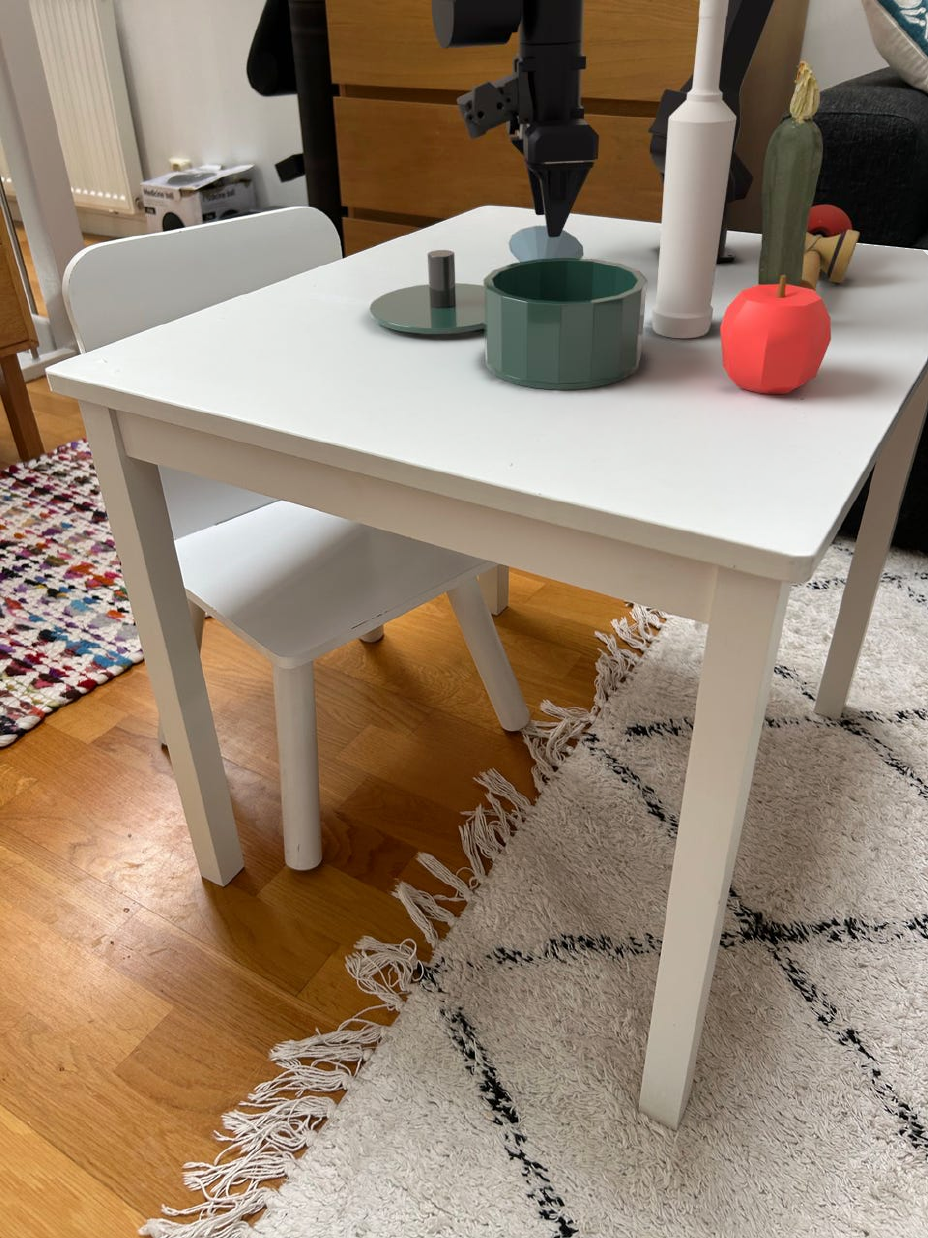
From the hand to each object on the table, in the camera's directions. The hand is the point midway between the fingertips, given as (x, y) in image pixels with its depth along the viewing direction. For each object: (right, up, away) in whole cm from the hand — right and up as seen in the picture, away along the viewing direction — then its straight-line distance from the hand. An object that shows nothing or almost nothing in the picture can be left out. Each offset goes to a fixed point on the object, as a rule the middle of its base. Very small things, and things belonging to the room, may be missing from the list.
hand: (547, 225), depth 95 cm
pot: (0, -18, -17) cm, 25 cm away
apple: (+15, -21, -22) cm, 34 cm away
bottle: (+11, -14, -11) cm, 21 cm away
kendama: (+25, -7, -2) cm, 26 cm away
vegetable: (+18, -14, -11) cm, 25 cm away
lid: (-10, -11, -7) cm, 16 cm away
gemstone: (0, -4, +3) cm, 5 cm away
